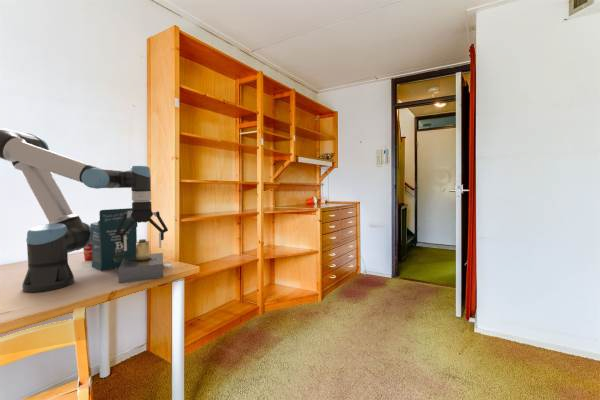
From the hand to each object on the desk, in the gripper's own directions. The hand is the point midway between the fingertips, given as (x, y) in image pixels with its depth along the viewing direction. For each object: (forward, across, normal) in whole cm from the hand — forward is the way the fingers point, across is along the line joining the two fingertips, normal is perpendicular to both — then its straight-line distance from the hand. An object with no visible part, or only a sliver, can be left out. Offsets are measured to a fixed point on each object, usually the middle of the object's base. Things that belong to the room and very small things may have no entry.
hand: (143, 249), depth 129 cm
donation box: (+11, -14, +22) cm, 28 cm away
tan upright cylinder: (+9, 0, 0) cm, 9 cm away
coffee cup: (+11, -26, +39) cm, 48 cm away
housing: (+11, 0, 0) cm, 11 cm away
